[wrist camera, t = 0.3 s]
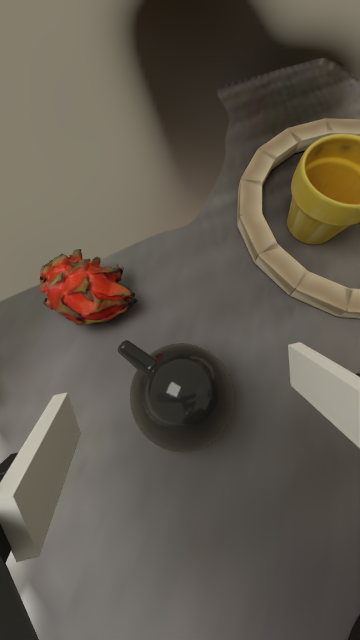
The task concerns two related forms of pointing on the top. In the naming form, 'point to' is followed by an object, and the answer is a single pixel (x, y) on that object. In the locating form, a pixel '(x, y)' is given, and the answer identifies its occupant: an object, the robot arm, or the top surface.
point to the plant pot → (326, 189)
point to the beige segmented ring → (260, 236)
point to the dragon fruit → (84, 289)
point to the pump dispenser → (179, 395)
